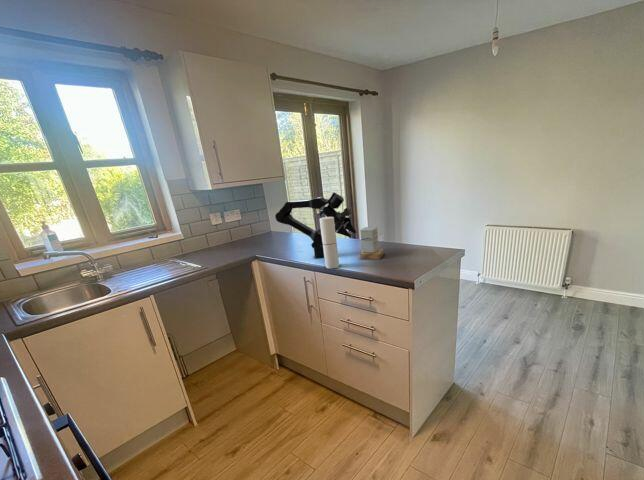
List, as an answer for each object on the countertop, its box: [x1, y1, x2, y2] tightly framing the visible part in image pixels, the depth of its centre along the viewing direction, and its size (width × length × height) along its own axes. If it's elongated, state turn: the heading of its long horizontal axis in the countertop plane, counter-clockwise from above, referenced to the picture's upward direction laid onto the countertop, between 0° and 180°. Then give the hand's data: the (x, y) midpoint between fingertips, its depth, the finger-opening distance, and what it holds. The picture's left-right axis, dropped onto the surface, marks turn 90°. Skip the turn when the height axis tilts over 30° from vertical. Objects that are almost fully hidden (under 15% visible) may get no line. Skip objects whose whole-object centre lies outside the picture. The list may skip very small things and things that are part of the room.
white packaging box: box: [359, 226, 379, 253], centre depth 171 cm, size 7×7×13 cm
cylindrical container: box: [319, 216, 340, 270], centre depth 159 cm, size 7×7×25 cm
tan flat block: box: [359, 248, 385, 260], centre depth 173 cm, size 11×10×3 cm
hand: (353, 234), depth 172 cm, fingers open, 9 cm apart
